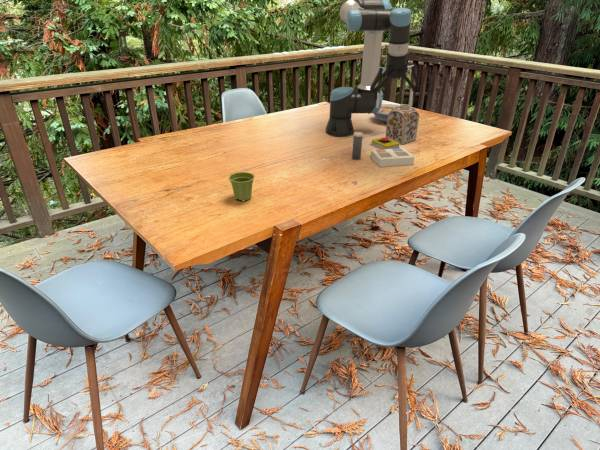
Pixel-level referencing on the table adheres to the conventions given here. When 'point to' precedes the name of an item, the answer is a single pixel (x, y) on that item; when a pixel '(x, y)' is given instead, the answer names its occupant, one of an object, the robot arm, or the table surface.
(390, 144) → the emergency button
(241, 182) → the plant pot
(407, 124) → the decorative jar
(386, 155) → the socket block
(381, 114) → the ramen bowl
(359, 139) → the capped grey bottle
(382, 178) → the table surface
